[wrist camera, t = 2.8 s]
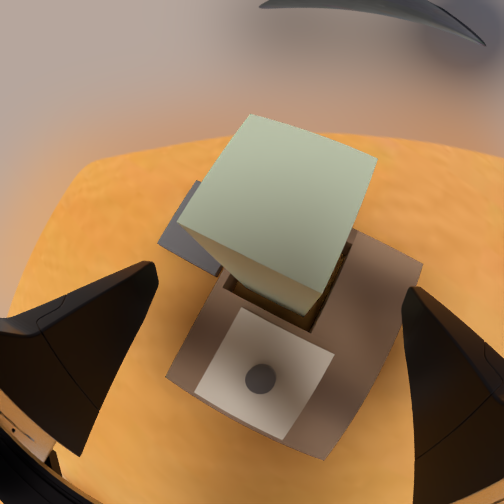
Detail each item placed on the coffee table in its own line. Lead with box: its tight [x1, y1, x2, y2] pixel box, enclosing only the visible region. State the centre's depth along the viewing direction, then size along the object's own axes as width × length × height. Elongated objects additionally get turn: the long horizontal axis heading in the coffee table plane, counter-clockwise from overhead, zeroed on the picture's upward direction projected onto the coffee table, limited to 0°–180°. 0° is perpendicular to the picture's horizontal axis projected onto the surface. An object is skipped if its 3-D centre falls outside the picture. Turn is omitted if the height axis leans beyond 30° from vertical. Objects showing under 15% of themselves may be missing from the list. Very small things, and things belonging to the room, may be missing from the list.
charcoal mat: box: [157, 180, 223, 277], centre depth 20 cm, size 6×6×1 cm
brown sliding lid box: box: [165, 228, 423, 460], centre depth 16 cm, size 14×12×4 cm
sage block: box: [177, 114, 378, 317], centre depth 13 cm, size 4×4×12 cm
